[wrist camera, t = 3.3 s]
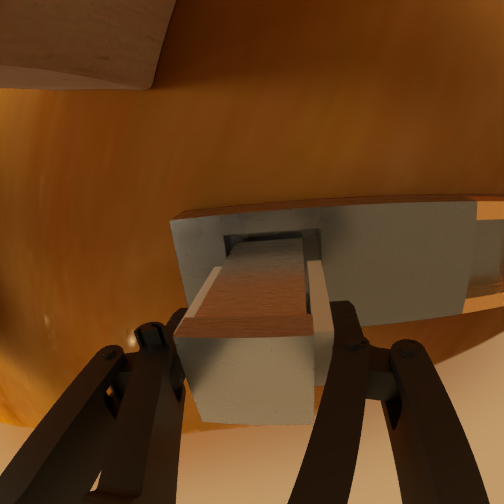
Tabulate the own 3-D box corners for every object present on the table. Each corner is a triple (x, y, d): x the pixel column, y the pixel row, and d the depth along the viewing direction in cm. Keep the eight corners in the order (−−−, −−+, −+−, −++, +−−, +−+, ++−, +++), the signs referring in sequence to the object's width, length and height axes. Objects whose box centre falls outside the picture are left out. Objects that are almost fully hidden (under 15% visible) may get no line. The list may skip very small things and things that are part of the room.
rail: (203, 314, 23) (194, 331, 20) (183, 211, 20) (169, 220, 18) (523, 285, 18) (537, 298, 15) (536, 195, 15) (554, 202, 13)
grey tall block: (241, 303, 20) (202, 421, 11) (232, 239, 18) (172, 336, 9) (308, 300, 19) (313, 424, 10) (305, 234, 18) (314, 335, 8)
